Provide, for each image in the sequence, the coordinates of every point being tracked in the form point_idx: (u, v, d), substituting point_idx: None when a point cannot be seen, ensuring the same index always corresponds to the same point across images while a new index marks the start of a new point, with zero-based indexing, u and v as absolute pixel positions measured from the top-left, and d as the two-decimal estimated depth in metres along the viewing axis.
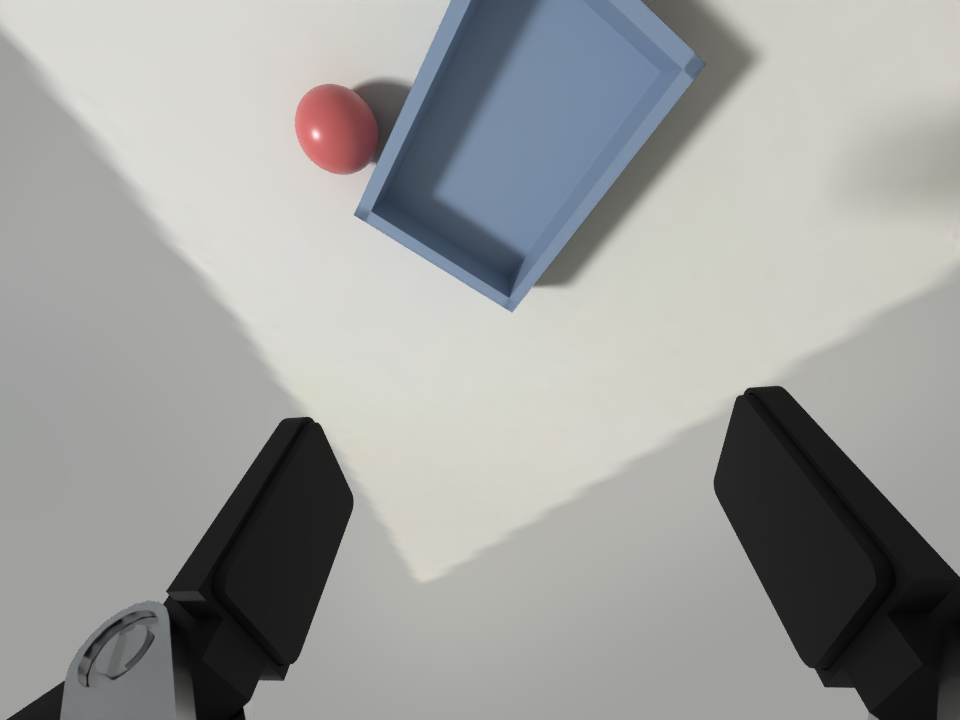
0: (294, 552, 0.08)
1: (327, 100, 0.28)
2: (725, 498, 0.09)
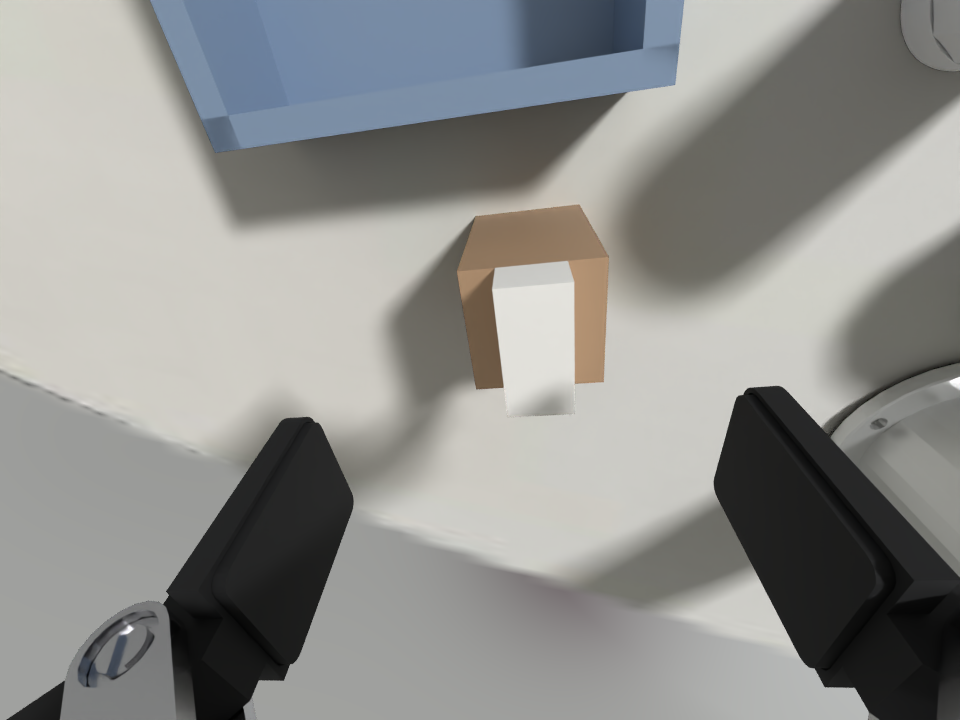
0: (294, 552, 0.08)
1: None
2: (725, 498, 0.09)
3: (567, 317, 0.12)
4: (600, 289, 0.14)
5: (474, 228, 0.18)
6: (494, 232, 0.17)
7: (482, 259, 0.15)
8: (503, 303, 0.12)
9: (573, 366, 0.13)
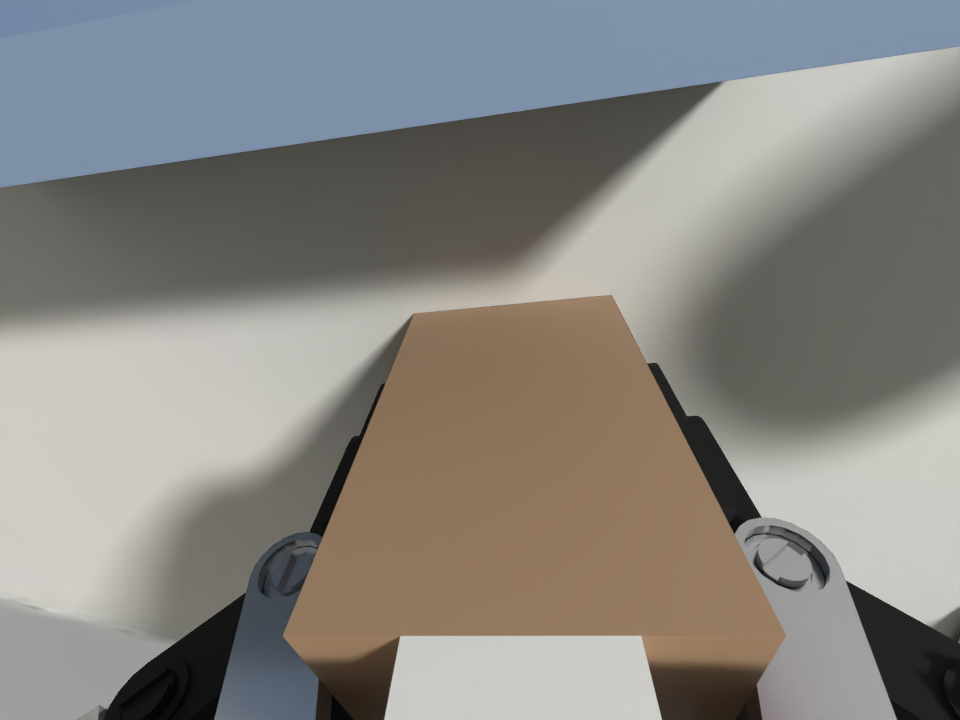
0: None
1: None
2: None
3: None
4: (734, 683, 0.04)
5: (400, 361, 0.09)
6: (437, 387, 0.08)
7: (379, 550, 0.05)
8: None
9: None
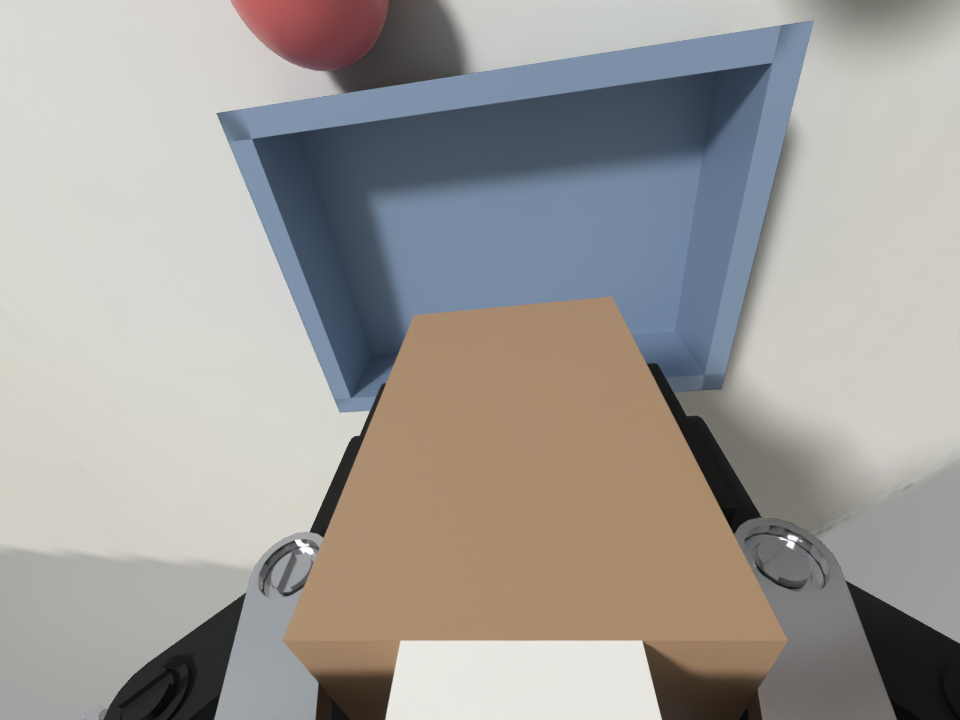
0: None
1: None
2: None
3: None
4: (736, 687, 0.04)
5: (400, 363, 0.09)
6: (437, 390, 0.08)
7: (378, 555, 0.05)
8: None
9: None
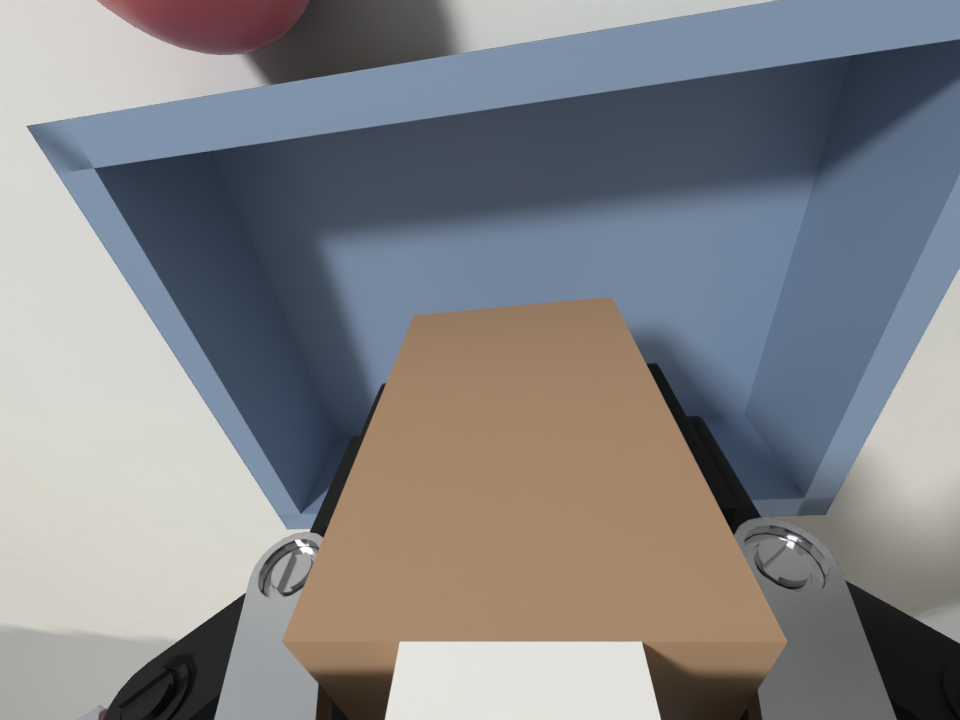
0: None
1: None
2: None
3: None
4: (736, 688, 0.04)
5: (400, 363, 0.09)
6: (436, 390, 0.08)
7: (378, 556, 0.05)
8: None
9: None
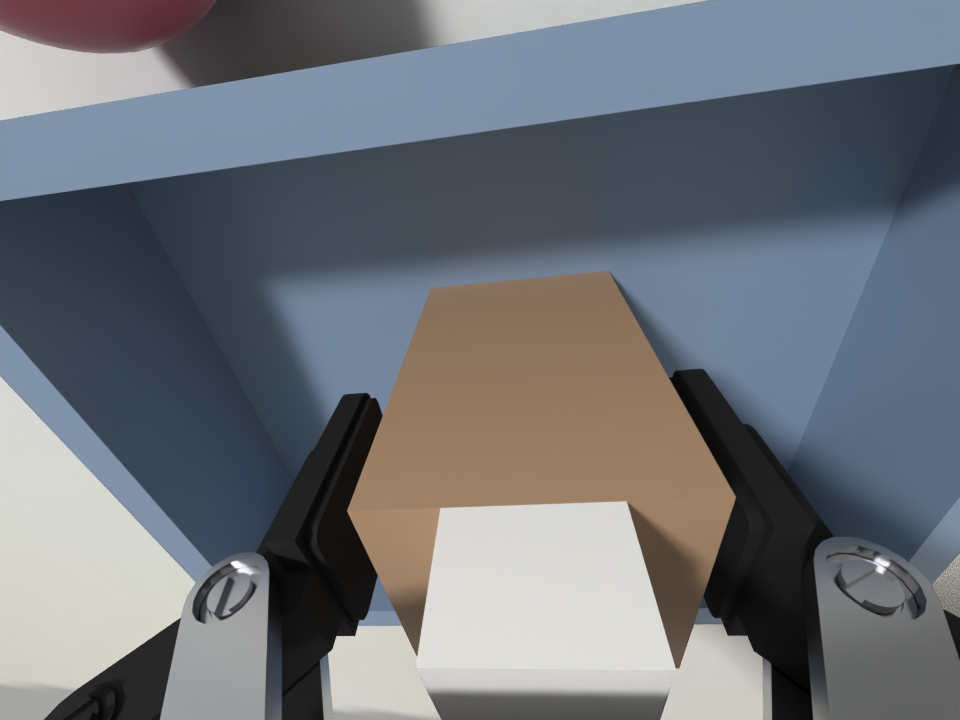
0: None
1: None
2: None
3: (639, 714, 0.04)
4: (701, 550, 0.06)
5: (422, 324, 0.10)
6: (456, 343, 0.09)
7: (418, 457, 0.06)
8: (454, 687, 0.04)
9: None
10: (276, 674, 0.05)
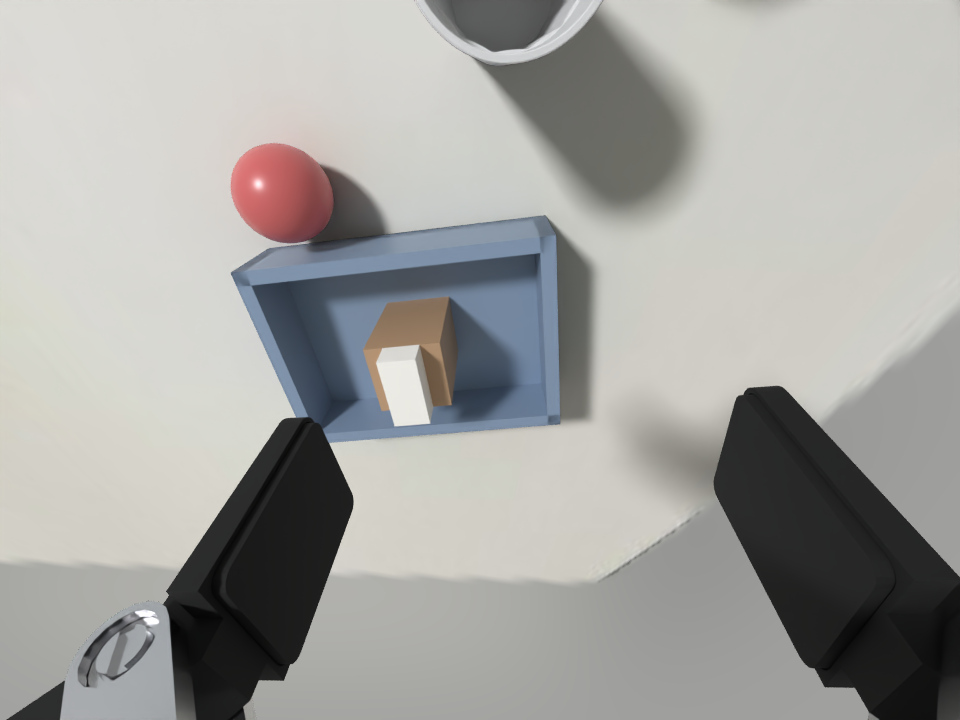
0: (294, 552, 0.08)
1: (295, 184, 0.24)
2: (725, 498, 0.09)
3: (415, 375, 0.25)
4: (438, 357, 0.26)
5: (382, 314, 0.31)
6: (392, 319, 0.30)
7: (378, 341, 0.27)
8: (382, 369, 0.25)
9: (423, 399, 0.26)
10: (189, 715, 0.05)
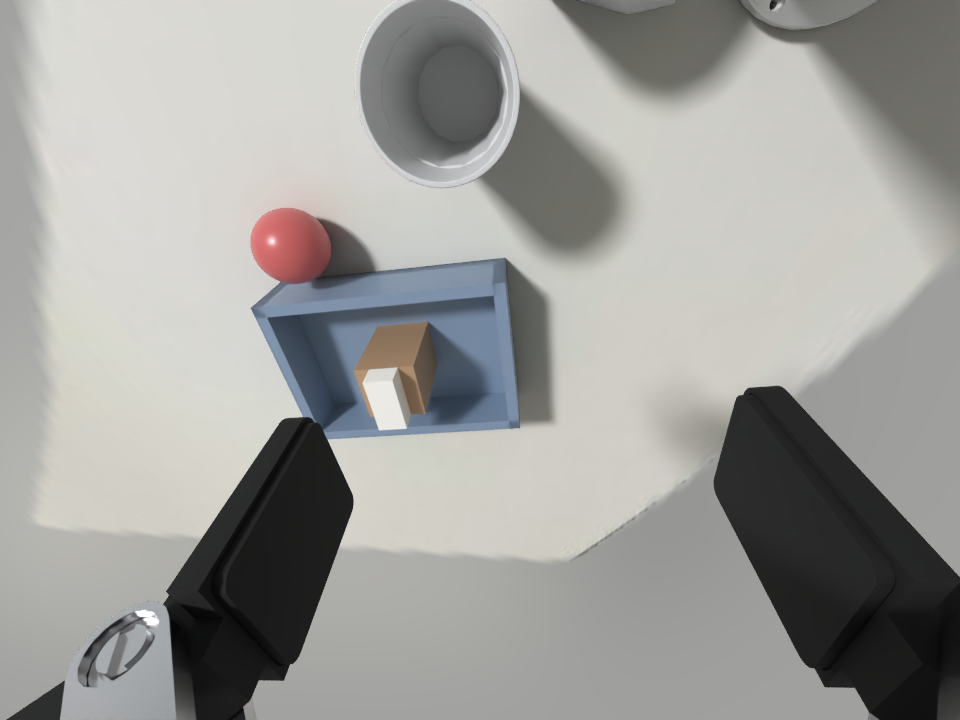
0: (294, 552, 0.08)
1: (300, 243, 0.31)
2: (725, 498, 0.09)
3: (393, 392, 0.32)
4: (413, 377, 0.33)
5: (372, 337, 0.38)
6: (379, 342, 0.37)
7: (366, 363, 0.34)
8: (367, 387, 0.32)
9: (400, 410, 0.33)
10: (189, 715, 0.05)
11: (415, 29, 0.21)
